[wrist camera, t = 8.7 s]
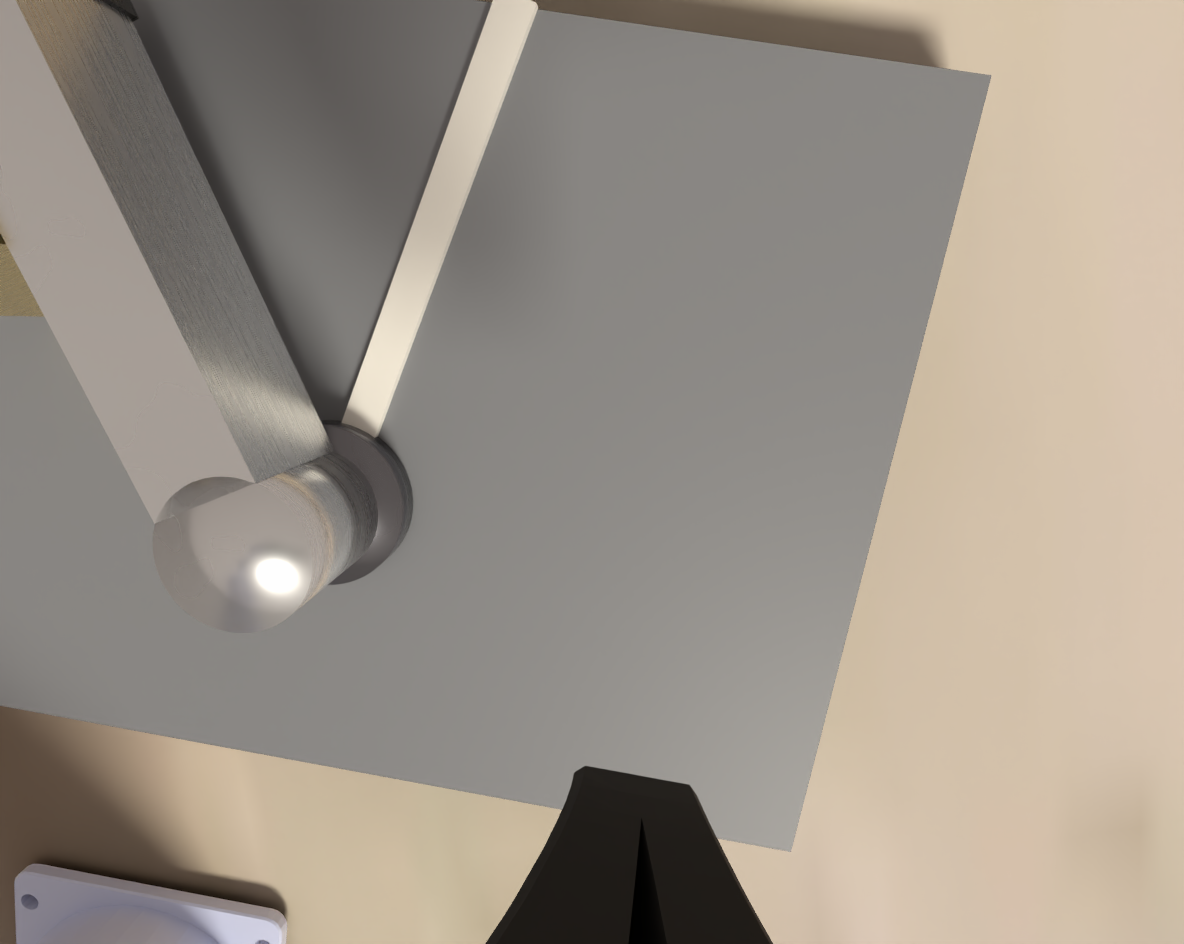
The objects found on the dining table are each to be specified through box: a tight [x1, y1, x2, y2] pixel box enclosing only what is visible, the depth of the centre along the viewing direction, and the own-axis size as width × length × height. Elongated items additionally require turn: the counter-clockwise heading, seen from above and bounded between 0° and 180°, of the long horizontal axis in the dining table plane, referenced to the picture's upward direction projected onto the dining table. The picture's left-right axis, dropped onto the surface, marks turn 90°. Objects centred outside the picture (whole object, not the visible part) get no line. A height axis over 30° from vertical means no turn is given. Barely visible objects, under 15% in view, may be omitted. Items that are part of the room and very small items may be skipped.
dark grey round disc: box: [321, 420, 413, 585], centre depth 15 cm, size 4×4×1 cm
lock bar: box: [0, 0, 378, 633], centre depth 12 cm, size 12×3×3 cm, turn 22°
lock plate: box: [0, 0, 991, 852], centre depth 16 cm, size 18×22×2 cm
